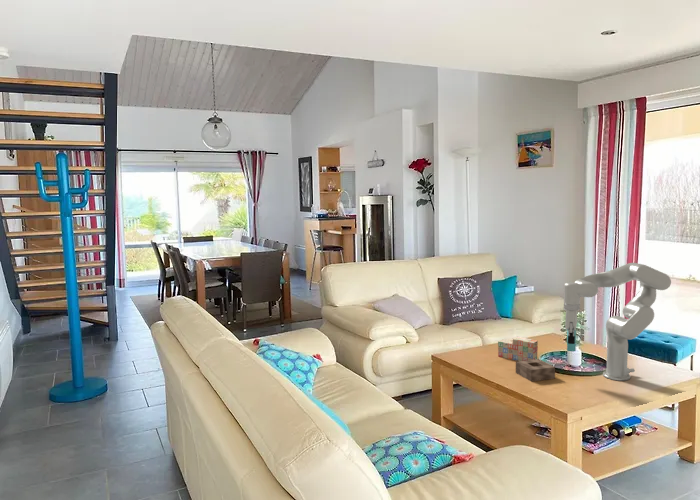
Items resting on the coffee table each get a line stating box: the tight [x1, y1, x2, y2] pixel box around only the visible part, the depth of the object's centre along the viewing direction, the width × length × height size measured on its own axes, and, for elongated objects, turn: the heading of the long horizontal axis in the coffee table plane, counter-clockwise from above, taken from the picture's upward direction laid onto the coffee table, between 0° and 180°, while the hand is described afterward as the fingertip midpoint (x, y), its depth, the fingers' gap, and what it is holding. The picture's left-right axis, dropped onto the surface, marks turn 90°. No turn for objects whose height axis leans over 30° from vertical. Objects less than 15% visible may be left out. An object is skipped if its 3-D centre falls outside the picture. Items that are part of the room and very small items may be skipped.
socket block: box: [515, 358, 556, 382], centre depth 278 cm, size 14×14×6 cm
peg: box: [566, 327, 577, 352], centre depth 269 cm, size 4×4×12 cm
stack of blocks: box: [497, 336, 539, 362], centre depth 306 cm, size 21×6×12 cm, turn 47°
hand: (571, 342), depth 269 cm, fingers closed on peg, 4 cm apart
